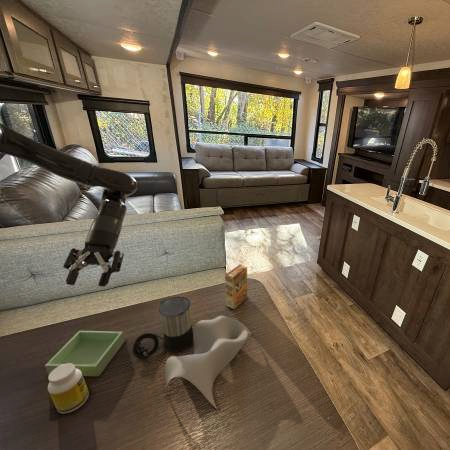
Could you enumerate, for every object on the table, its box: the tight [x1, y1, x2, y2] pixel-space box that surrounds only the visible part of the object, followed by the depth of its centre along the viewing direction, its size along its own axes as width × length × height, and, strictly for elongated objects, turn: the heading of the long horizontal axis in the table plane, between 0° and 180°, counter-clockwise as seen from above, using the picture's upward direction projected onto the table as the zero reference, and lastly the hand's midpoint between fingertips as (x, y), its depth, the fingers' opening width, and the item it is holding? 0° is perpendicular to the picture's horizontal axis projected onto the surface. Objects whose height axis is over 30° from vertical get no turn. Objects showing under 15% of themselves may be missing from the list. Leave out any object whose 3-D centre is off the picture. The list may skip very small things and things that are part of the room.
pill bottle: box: [47, 363, 90, 414], centre depth 61 cm, size 6×6×11 cm
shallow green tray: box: [44, 330, 126, 377], centre depth 74 cm, size 13×12×4 cm
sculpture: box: [164, 315, 252, 410], centre depth 75 cm, size 25×19×10 cm
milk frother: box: [132, 295, 194, 359], centre depth 78 cm, size 14×16×15 cm
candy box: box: [224, 264, 248, 310], centre depth 99 cm, size 9×4×15 cm, turn 154°
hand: (86, 285), depth 70 cm, fingers open, 8 cm apart
